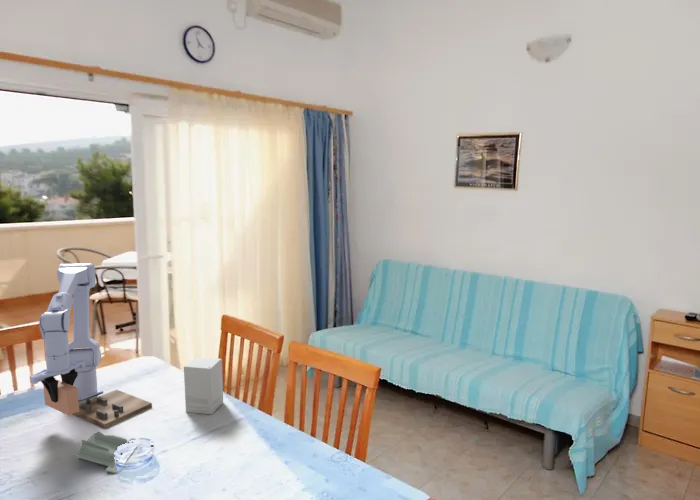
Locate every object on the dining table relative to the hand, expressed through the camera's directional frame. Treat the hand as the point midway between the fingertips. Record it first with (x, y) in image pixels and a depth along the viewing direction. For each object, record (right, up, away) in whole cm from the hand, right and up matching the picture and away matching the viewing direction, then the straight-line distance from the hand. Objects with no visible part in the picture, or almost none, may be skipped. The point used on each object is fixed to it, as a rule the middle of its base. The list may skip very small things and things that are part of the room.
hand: (60, 398), depth 145 cm
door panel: (0, -3, 0) cm, 3 cm away
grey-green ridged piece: (+18, -12, -11) cm, 25 cm away
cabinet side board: (+8, -7, +14) cm, 18 cm away
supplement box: (+36, -8, +17) cm, 41 cm away
